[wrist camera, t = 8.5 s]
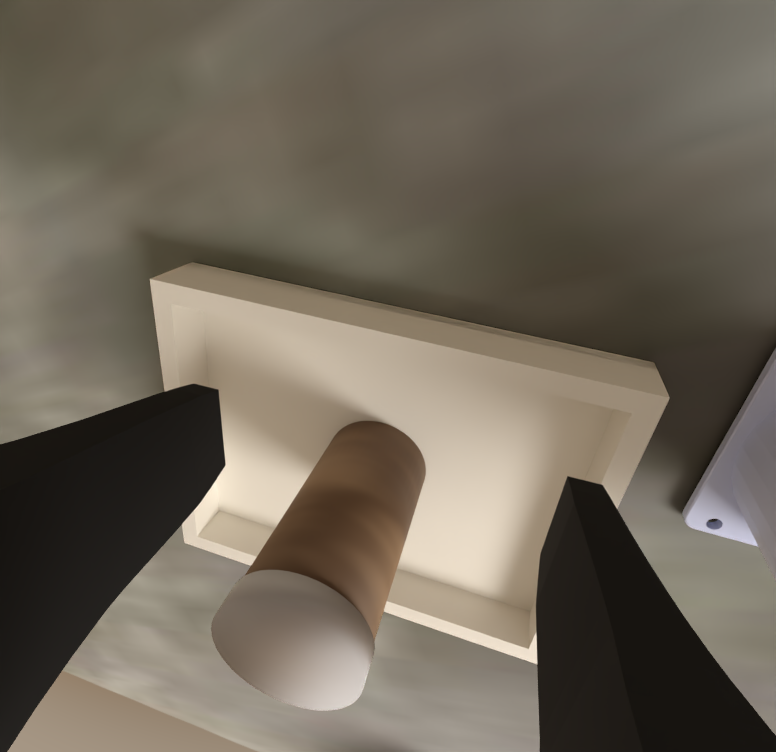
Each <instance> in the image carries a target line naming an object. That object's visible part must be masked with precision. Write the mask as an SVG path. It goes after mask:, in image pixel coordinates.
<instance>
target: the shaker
mask: <svg viewBox="0 0 776 752" xmlns="http://www.w3.org/2000/svg"><path fill="white" fill-rule="evenodd" d="M425 475H426V466H425V461H424V458H423V455H422V453H421V451H420V450H419V448H418V446H417V445H416V444H415V443H414V441H413V440H412V439H411V438H410V437H408V436H407V435H406V434H405V433H403V432H402V431H400V430H399V429H397V428H395V427H393V426H390V425H388V424H385V423H381V422H376V421H359V422H355V423H351V424H349V425H347V426H345V427H343V428H342V429H341V430H339V431H338V432H337V434H336V435H335V436H334V438H333V439H332V441H331V442H330V444H329V445H328V447H327V449H326V450H325V452H324V453H323V455H322V456H321V458H320V459H319V461H318V463H317V464H316V466H315V467H314V469H313V470H312V472H311V473H310V475H309V477H308V478H307V480H306V481H305V483H304V484H303V486H302V487H301V489H300V491H299V492H298V494H297V495H296V497H295V498H294V500H293V501H292V503H291V505H290V506H289V508H288V509H287V511H286V512H285V514H284V515H283V517H282V519H281V520H280V522H279V523H278V525H277V526H276V528H275V529H274V531H273V533H272V534H271V536H270V537H269V539H268V540H267V542H266V543H265V545H264V547H263V548H262V550H261V551H260V553H259V554H258V556H257V557H256V559H255V561H254V562H253V564H252V565H251V567H250V568H249V570H248V571H247V573H246V575H245V576H244V577H242V578H241V579H240V580H239V581H238V582H237V583H236V584H235V585H234V587H233V588H232V590H231V592H230V593H229V595H228V596H227V598H226V599H225V601H224V602H223V604H222V605H221V607H220V608H219V610H218V611H217V613H216V615H215V616H214V618H213V621H212V627H211V631H212V637H213V641H214V644H215V646H216V648H217V650H218V652H219V653H220V655H221V656H222V658H223V659H224V661H225V662H226V663H227V664H228V665H229V666H230V668H231V669H232V670H233V671H234V672H235V673H237V674H238V675H239V676H240V677H241V678H242V679H244V680H245V681H246V682H247V683H249V684H250V685H252V686H253V687H255V688H256V689H258V690H259V691H261V692H263V693H265V694H267V695H268V696H270V697H272V698H275V699H277V700H279V701H282V702H284V703H287V704H290V705H293V706H297V707H300V708H305V709H311V710H323V711H326V710H336V709H341V708H344V707H347V706H349V705H350V704H352V703H354V702H355V701H356V700H357V699H358V698H359V696H360V695H361V693H362V691H363V688H364V685H365V681H366V678H367V675H368V671H369V668H370V665H371V662H372V658H373V655H374V649H375V645H374V640H375V637H376V634H377V631H378V627H379V624H380V621H381V618H382V615H383V611H384V608H385V605H386V602H387V599H388V595H389V592H390V589H391V586H392V583H393V579H394V576H395V573H396V570H397V567H398V563H399V560H400V557H401V554H402V551H403V547H404V544H405V541H406V538H407V535H408V531H409V528H410V525H411V522H412V519H413V515H414V512H415V509H416V506H417V502H418V499H419V496H420V493H421V490H422V486H423V483H424V480H425Z"/></svg>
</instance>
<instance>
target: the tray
mask: <svg viewBox="0 0 776 752" xmlns="http://www.w3.org/2000/svg"><path fill="white" fill-rule="evenodd" d="M150 285H151V293H152V300H153V308H154V316H155V323H156V331H157V338H158V346H159V353H160V361H161V368H162V376H163V384H164V391H168V390H172V389H175V388H178V387H182V386H186V385H190V384H198V385H202V386H206V387H210V388H214V389H218V390H219V400H220V411H221V421H222V432H223V442H224V453H225V464H226V465H225V467H224V468H223V470H222V471H221V473H220V475H219V476H218V478H217V479H216V481H215V482H214V484H213V485H212V487H211V488H210V490H209V491H208V493H207V494H206V495H205V497H204V498H203V500H202V501H201V503H200V504H199V505H198V506H197V507H196V509H195V510H194V511H193V512H192V513H191V514H190V515H189V517H188V518H187V519H186V520H185V521H184V522H183V523H182V527H183V535H184V542H185V543H187V544H189V545H192V546H195V547H198V548H201V549H204V550H207V551H210V552H213V553H216V554H218V555H221V556H224V557H227V558H230V559H233V560H236V561H239V562H242V563H245V564H248V565H250V566H251V565H252V564H253V562H254V561H255V559H256V557H257V556H258V554H259V553H260V551H261V550H262V548H263V547H264V545H265V543H266V542H267V540H268V539H269V537H270V536H271V534H272V533H273V531H274V529H275V528H276V526H277V525H278V523H279V522H280V520H281V519H282V517H283V515H284V514H285V512H286V511H287V509H288V508H289V506H290V505H291V503H292V501H293V500H294V498H295V497H296V495H297V494H298V492H299V491H300V489H301V487H302V486H303V484H304V483H305V481H306V480H307V478H308V477H309V475H310V473H311V472H312V470H313V469H314V467H315V466H316V464H317V463H318V461H319V459H320V458H321V456H322V455H323V453H324V452H325V450H326V449H327V447H328V445H329V444H330V442H331V441H332V439H333V438H334V436H335V435H336V434H337V432H338V431H339V430H341V429H342V428H343V427H345V426H347V425H349V424H351V423H355V422H359V421H376V422H381V423H385V424H388V425H390V426H393V427H395V428H397V429H399V430H400V431H402V432H403V433H405V434H406V435H407V436H408V437H410V438H411V439H412V440H413V441H414V443H415V444H416V445H417V446H418V448H419V450H420V451H421V453H422V455H423V458H424V461H425V466H426V475H425V480H424V483H423V486H422V490H421V493H420V496H419V499H418V502H417V506H416V509H415V512H414V515H413V519H412V522H411V525H410V528H409V531H408V535H407V538H406V541H405V544H404V547H403V551H402V554H401V557H400V560H399V563H398V567H397V570H396V573H395V576H394V579H393V583H392V586H391V589H390V592H389V595H388V599H387V602H386V605H385V608H384V612H387V613H390V614H393V615H396V616H398V617H401V618H404V619H407V620H410V621H413V622H416V623H419V624H422V625H425V626H427V627H430V628H433V629H436V630H439V631H442V632H445V633H448V634H451V635H454V636H457V637H459V638H462V639H465V640H468V641H471V642H474V643H477V644H480V645H483V646H486V647H488V648H491V649H494V650H497V651H500V652H503V653H506V654H509V655H512V656H515V657H517V658H520V659H523V660H526V661H529V662H532V663H535V664H537V636H536V596H537V583H538V572H539V561H540V553H541V550H542V547H543V545H544V542H545V539H546V536H547V533H548V530H549V527H550V525H551V522H552V519H553V516H554V513H555V510H556V507H557V505H558V502H559V499H560V496H561V493H562V490H563V487H564V485H565V482H566V479H567V476H569V477H573V478H577V479H581V480H585V481H589V482H593V483H597V484H601V485H603V486H604V488H605V489H606V491H607V493H608V494H609V496H610V498H611V499H612V501H613V503H614V505H615V506H616V508H618V506H619V504H620V502H621V500H622V497H623V495H624V493H625V491H626V489H627V487H628V485H629V483H630V481H631V479H632V476H633V474H634V472H635V470H636V468H637V466H638V464H639V462H640V460H641V458H642V455H643V453H644V451H645V449H646V447H647V445H648V443H649V441H650V439H651V437H652V434H653V432H654V430H655V428H656V426H657V424H658V422H659V420H660V418H661V416H662V413H663V411H664V409H665V407H666V405H667V403H668V401H669V399H670V397H669V395H668V393H667V390H666V388H665V386H664V383H663V381H662V379H661V377H660V374H659V372H658V370H657V368H656V365H655V363H654V362H650V361H645V360H641V359H636V358H632V357H627V356H622V355H618V354H613V353H609V352H604V351H599V350H595V349H590V348H586V347H581V346H576V345H572V344H567V343H563V342H558V341H553V340H549V339H544V338H539V337H535V336H530V335H526V334H521V333H516V332H512V331H507V330H503V329H498V328H493V327H489V326H484V325H480V324H475V323H470V322H466V321H461V320H457V319H452V318H447V317H443V316H438V315H434V314H429V313H424V312H420V311H415V310H410V309H406V308H401V307H397V306H392V305H387V304H383V303H378V302H374V301H369V300H364V299H360V298H355V297H351V296H346V295H341V294H337V293H332V292H328V291H323V290H318V289H314V288H309V287H304V286H300V285H295V284H291V283H286V282H281V281H277V280H272V279H268V278H263V277H258V276H254V275H249V274H245V273H240V272H235V271H231V270H226V269H222V268H217V267H212V266H208V265H203V264H199V263H194V262H191V263H188V264H186V265H183V266H181V267H178V268H176V269H173V270H171V271H168V272H166V273H163V274H161V275H158V276H156V277H153V278H150Z"/></svg>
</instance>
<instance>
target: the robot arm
mask: <svg viewBox="0 0 776 752" xmlns="http://www.w3.org/2000/svg"><path fill="white" fill-rule="evenodd" d="M225 465H226V464H225V453H224V442H223V432H222V421H221V411H220V400H219V390H218V389H214V388H210V387H206V386H202V385H198V384H190V385H186V386H182V387H178V388H175V389H172V390H168V391H165V392H162V393H159V394H156V395H153V396H150V397H147V398H144V399H141V400H138V401H135V402H133V403H130V404H127V405H124V406H121V407H118V408H115V409H112V410H109V411H106V412H103V413H100V414H98V415H95V416H92V417H89V418H86V419H83V420H80V421H76V422H73V423H70V424H67V425H64V426H60V427H57V428H54V429H51V430H48V431H44V432H41V433H38V434H35V435H32V436H28V437H25V438H22V439H18V440H15V441H11V442H8V443H4V444H0V752H7V751H8V750H9V748H10V747H11V745H12V744H13V742H14V741H15V739H16V737H17V736H18V734H19V733H20V731H21V730H22V728H23V727H24V725H25V724H26V722H27V720H28V719H29V718H30V716H31V715H32V713H33V711H34V710H35V708H36V707H37V705H38V704H39V703H40V701H41V700H42V698H43V697H44V695H45V694H46V693H47V691H48V690H49V688H50V687H51V686H52V684H53V683H54V681H55V680H56V678H57V677H58V676H59V674H60V673H61V671H62V670H63V668H64V667H65V666H66V664H67V663H68V661H69V660H70V658H71V657H72V656H73V654H74V653H75V652H76V650H77V649H78V648H79V646H80V645H81V643H82V642H83V641H84V639H85V638H86V637H87V635H88V634H89V633H90V631H91V630H92V629H93V627H94V626H95V625H96V623H97V622H98V621H99V619H100V618H101V617H102V615H103V614H104V612H105V611H106V610H107V609H108V607H109V606H110V605H111V604H112V603H113V601H114V600H115V599H116V598H117V597H118V595H119V594H120V593H121V592H122V591H123V589H124V588H125V587H126V586H127V585H128V584H129V583H130V582H131V580H132V579H133V578H134V577H135V576H136V575H137V574H138V573H139V572H140V570H141V569H142V568H143V567H144V566H145V565H146V564H147V563H148V562H149V560H150V559H151V558H152V557H153V556H154V555H155V554H156V553H157V551H158V550H159V549H160V548H161V547H162V546H163V545H164V544H165V543H166V541H167V540H168V539H169V538H170V537H171V536H172V535H173V534H174V533H175V531H176V530H177V529H178V528H179V527H180V526H181V525H182V523H183V522H184V521H185V520H186V519H187V518H188V517H189V515H190V514H191V513H192V512H193V511H194V510H195V509H196V507H197V506H198V505H199V504H200V503H201V501H202V500H203V498H204V497H205V495H206V494H207V493H208V491H209V490H210V488H211V487H212V485H213V484H214V482H215V481H216V479H217V478H218V476H219V475H220V473H221V471H222V470H223V468H224V467H225ZM682 515H683V518H684V521H685V523H686V524H687V525H688V526H689V527H691V528H693V529H696V530H700V531H704V532H707V533H711V534H714V535H718V536H722V537H725V538H729V539H733V540H736V541H740V542H744V543H747V544H751V545H754V546H758V547H759V549H760V551H761V553H762V555H763V557H764V559H765V561H766V563H767V565H768V567H769V569H770V571H771V573H772V575H773V577H774V579H775V581H776V348H775V350H774V351H773V353H772V355H771V357H770V358H769V360H768V362H767V364H766V365H765V367H764V369H763V371H762V372H761V374H760V376H759V378H758V379H757V381H756V383H755V385H754V387H753V388H752V390H751V392H750V394H749V395H748V397H747V399H746V401H745V402H744V404H743V406H742V408H741V409H740V411H739V413H738V415H737V416H736V418H735V420H734V422H733V423H732V425H731V427H730V429H729V430H728V432H727V434H726V436H725V438H724V439H723V441H722V443H721V445H720V446H719V448H718V450H717V452H716V453H715V455H714V457H713V459H712V460H711V462H710V464H709V466H708V467H707V469H706V471H705V473H704V474H703V476H702V478H701V480H700V481H699V483H698V485H697V487H696V488H695V490H694V492H693V494H692V496H691V497H690V499H689V501H688V503H687V504H686V506H685V508H684V510H683V513H682ZM710 519H718V520H717V521H715V522H707V521H708V520H710ZM536 636H537V667H538V697H539V726H540V752H776V735H775V734H774V733H773V732H772V731H771V729H770V728H769V727H768V726H767V724H766V723H765V722H764V721H763V720H762V718H761V717H760V716H759V715H758V713H757V712H756V711H755V710H754V708H753V707H752V706H751V705H750V703H749V702H748V701H747V700H746V698H745V697H744V696H743V695H742V693H741V692H740V691H739V690H738V689H737V687H736V686H735V685H734V684H733V682H732V681H731V680H730V679H729V677H728V676H727V675H726V673H725V672H724V671H723V669H722V668H721V667H720V666H719V664H718V663H717V662H716V660H715V659H714V658H713V656H712V655H711V654H710V652H709V651H708V650H707V648H706V647H705V645H704V644H703V643H702V641H701V640H700V638H699V637H698V636H697V634H696V633H695V631H694V630H693V629H692V627H691V626H690V624H689V623H688V622H687V620H686V619H685V617H684V616H683V614H682V613H681V611H680V610H679V608H678V607H677V605H676V604H675V602H674V601H673V600H672V598H671V596H670V595H669V593H668V592H667V590H666V589H665V587H664V586H663V584H662V582H661V581H660V579H659V578H658V576H657V575H656V573H655V572H654V570H653V568H652V567H651V565H650V564H649V562H648V561H647V559H646V557H645V556H644V554H643V552H642V551H641V549H640V547H639V546H638V544H637V542H636V541H635V539H634V537H633V536H632V534H631V532H630V531H629V529H628V527H627V526H626V524H625V522H624V520H623V519H622V517H621V515H620V513H619V512H618V510H617V508H616V506H615V505H614V503H613V501H612V499H611V498H610V496H609V494H608V493H607V491H606V489H605V488H604V486H603V485H601V484H597V483H593V482H589V481H585V480H581V479H577V478H573V477H569V476H567V479H566V482H565V485H564V487H563V490H562V493H561V496H560V499H559V502H558V505H557V507H556V510H555V513H554V516H553V519H552V522H551V525H550V527H549V530H548V533H547V536H546V539H545V542H544V545H543V547H542V550H541V553H540V561H539V572H538V583H537V596H536Z"/></svg>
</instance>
